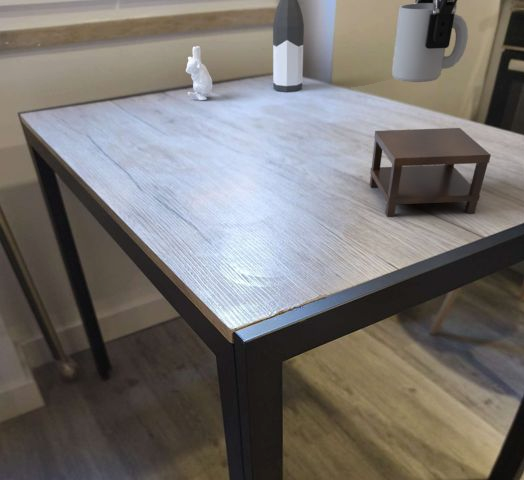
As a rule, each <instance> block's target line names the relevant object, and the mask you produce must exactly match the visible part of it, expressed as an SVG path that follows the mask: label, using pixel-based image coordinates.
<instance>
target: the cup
mask: <svg viewBox="0 0 524 480" xmlns="http://www.w3.org/2000/svg"><path fill="white" fill-rule="evenodd" d="M430 14H433V3H418V4H415V3H409V4H407V3H406V4H402V5H399V7H398V15H397V22H396V23H397V24H396V33H395V41H394V51H393V58H392V69H391V75H392V77H393V79H395V80H397V81H401V82H406V83H407V82H408V83H426V82H434V81H436V80H438V79H439V78H440V76H441V75H442V71H443V70H445V69H446V70H447V69H450V68H453V67H454V66H455V65H457V64H458V63H459V62H460V60H461V59H462V58H463V56H464V54H465V50H466V48H467V43H468V39H469V30H468V25H467V22H466V20H464V18H463V16H461V15H458V14H456V13H455V15H454V21H453V27H452V29H454V32H455V40H454V45H453V49H452V51H451V53H450V54H449V55H447V56H445V54H446V48H435V49H428V48H426V47H425V44H426V37H427V31H428V24H429V17H430Z"/></svg>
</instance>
